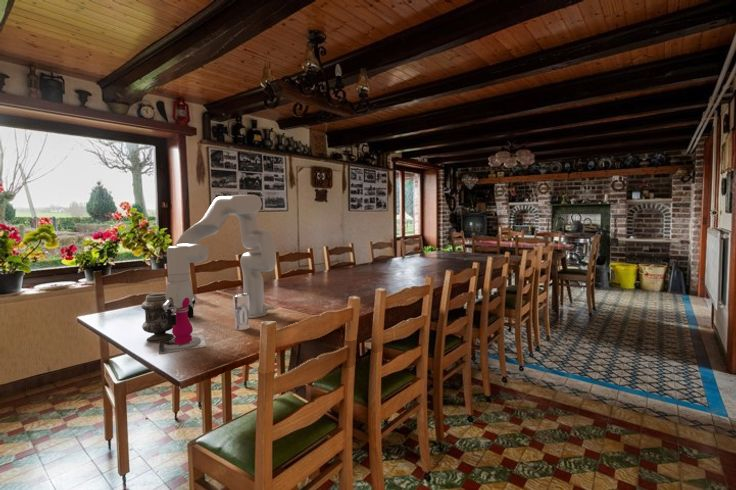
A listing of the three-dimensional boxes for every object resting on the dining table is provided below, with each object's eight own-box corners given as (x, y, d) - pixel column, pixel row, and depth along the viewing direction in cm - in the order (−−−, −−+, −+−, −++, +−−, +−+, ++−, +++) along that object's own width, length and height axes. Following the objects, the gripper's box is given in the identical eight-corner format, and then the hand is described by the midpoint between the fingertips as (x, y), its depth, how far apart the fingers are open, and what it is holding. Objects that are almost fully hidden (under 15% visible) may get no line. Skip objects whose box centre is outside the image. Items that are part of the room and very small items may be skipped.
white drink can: (253, 326, 173) (252, 293, 172) (243, 331, 167) (242, 297, 165) (240, 325, 176) (239, 292, 174) (230, 329, 169) (229, 296, 168)
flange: (203, 335, 162) (203, 332, 162) (206, 347, 148) (206, 344, 148) (159, 341, 155) (159, 338, 155) (158, 354, 141) (158, 351, 141)
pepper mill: (169, 342, 151) (166, 291, 149) (187, 337, 157) (184, 288, 155) (179, 345, 147) (176, 294, 145) (197, 340, 153) (194, 290, 151)
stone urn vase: (178, 332, 165) (175, 291, 164) (174, 340, 154) (172, 295, 153) (146, 336, 161) (143, 293, 160) (140, 344, 150) (137, 298, 149)
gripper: (186, 273, 158) (188, 314, 160) (153, 281, 142) (156, 327, 143) (202, 274, 157) (204, 315, 158) (171, 282, 140) (173, 328, 141)
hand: (181, 321), depth 151 cm, fingers open, 9 cm apart
